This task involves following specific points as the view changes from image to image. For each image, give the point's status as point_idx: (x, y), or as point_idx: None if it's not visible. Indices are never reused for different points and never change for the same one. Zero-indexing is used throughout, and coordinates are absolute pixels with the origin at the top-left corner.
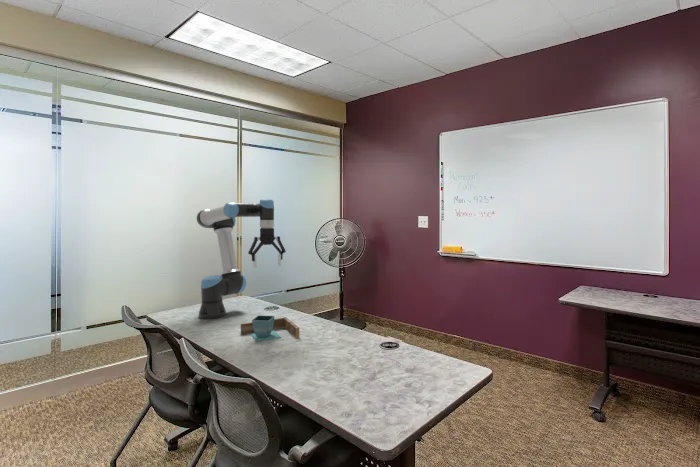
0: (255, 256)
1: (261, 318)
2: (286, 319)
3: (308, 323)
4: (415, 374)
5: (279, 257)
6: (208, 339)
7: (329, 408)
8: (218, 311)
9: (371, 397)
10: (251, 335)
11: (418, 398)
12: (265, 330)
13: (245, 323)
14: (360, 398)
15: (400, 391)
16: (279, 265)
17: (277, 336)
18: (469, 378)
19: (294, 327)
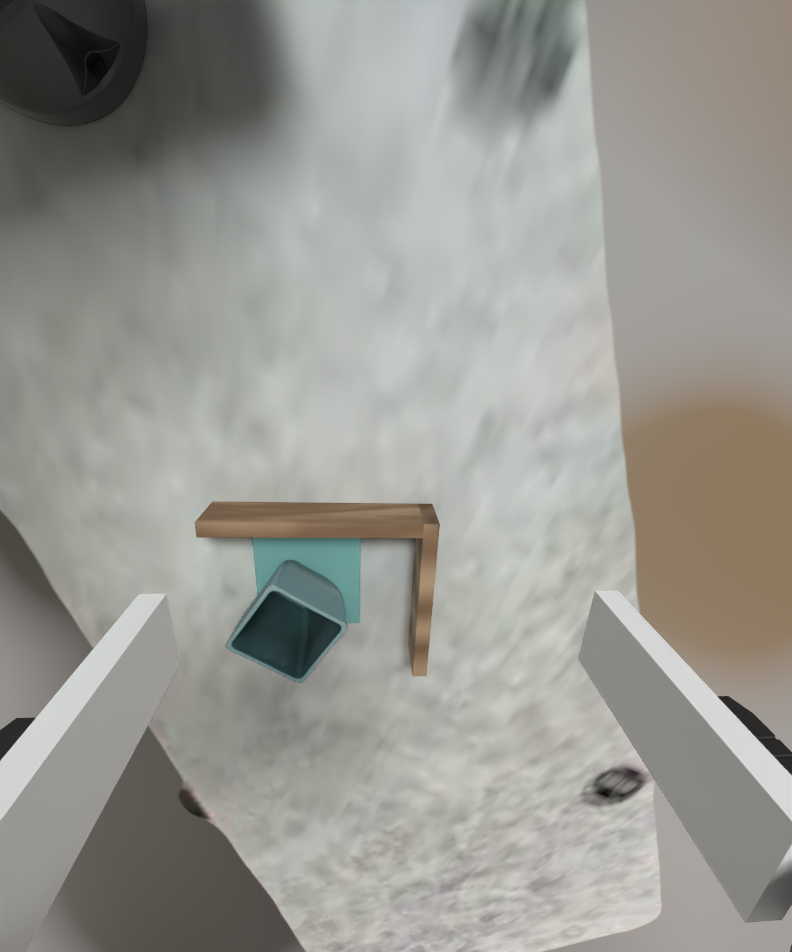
0: (7, 938)
1: (289, 588)
2: (425, 559)
3: (538, 512)
4: (533, 897)
5: (677, 811)
6: (62, 514)
7: (318, 932)
8: (60, 89)
9: (402, 927)
10: (254, 550)
11: (469, 945)
12: (293, 638)
13: (219, 531)
14: (383, 925)
15: (460, 927)
16: (582, 657)
17: (348, 612)
18: (600, 928)
19: (413, 657)
